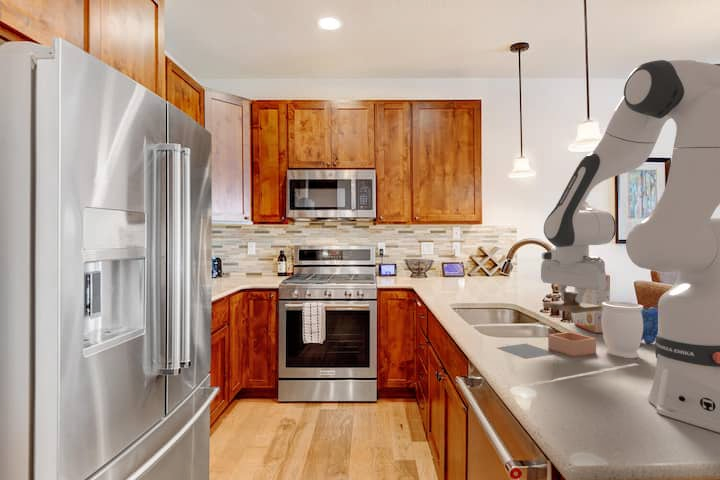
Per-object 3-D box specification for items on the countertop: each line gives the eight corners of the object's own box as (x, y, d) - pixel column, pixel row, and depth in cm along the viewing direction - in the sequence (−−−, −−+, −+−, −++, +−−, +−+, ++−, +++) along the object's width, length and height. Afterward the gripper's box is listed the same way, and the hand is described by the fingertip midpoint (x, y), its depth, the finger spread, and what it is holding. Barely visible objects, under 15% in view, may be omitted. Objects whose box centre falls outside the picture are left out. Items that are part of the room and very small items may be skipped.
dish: (596, 355, 120) (596, 338, 120) (573, 359, 117) (573, 341, 117) (569, 347, 129) (569, 331, 128) (548, 350, 125) (548, 334, 125)
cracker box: (610, 333, 146) (611, 274, 145) (593, 333, 146) (593, 275, 145) (589, 324, 160) (589, 271, 159) (573, 324, 160) (573, 271, 159)
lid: (601, 310, 120) (601, 294, 119) (574, 313, 115) (574, 296, 115) (569, 303, 130) (569, 289, 130) (543, 306, 126) (543, 291, 125)
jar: (650, 361, 115) (650, 307, 114) (609, 359, 117) (609, 306, 116) (633, 350, 125) (633, 301, 125) (595, 348, 127) (596, 300, 127)
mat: (556, 355, 120) (556, 353, 120) (525, 360, 116) (525, 358, 116) (526, 345, 131) (526, 343, 131) (496, 349, 127) (496, 347, 127)
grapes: (671, 343, 132) (672, 306, 132) (670, 348, 127) (670, 309, 126) (629, 338, 139) (629, 302, 139) (625, 342, 134) (625, 305, 134)
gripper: (612, 256, 114) (611, 306, 114) (552, 253, 133) (552, 295, 133) (596, 257, 111) (595, 308, 112) (537, 253, 130) (537, 297, 131)
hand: (571, 301), depth 122 cm, fingers closed on lid, 3 cm apart
